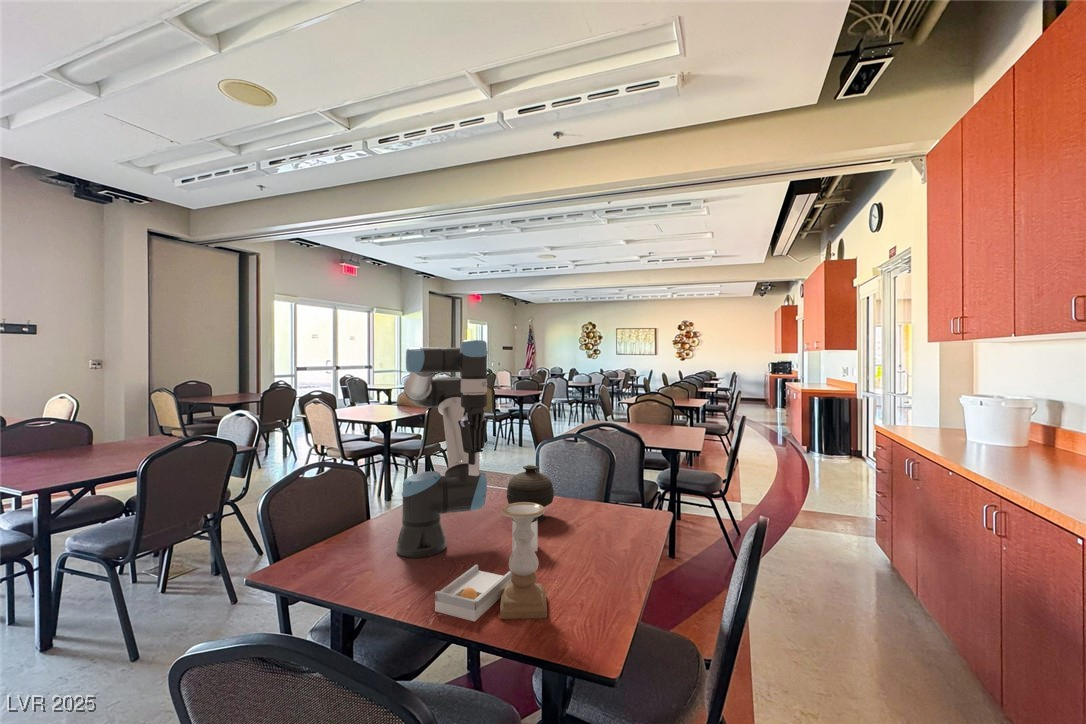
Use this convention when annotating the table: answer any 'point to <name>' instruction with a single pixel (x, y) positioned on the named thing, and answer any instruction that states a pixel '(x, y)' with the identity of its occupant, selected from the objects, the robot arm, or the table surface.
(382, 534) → the table surface
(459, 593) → the tray
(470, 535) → the table surface
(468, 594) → the ball
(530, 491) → the pot
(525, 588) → the candle holder
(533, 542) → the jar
